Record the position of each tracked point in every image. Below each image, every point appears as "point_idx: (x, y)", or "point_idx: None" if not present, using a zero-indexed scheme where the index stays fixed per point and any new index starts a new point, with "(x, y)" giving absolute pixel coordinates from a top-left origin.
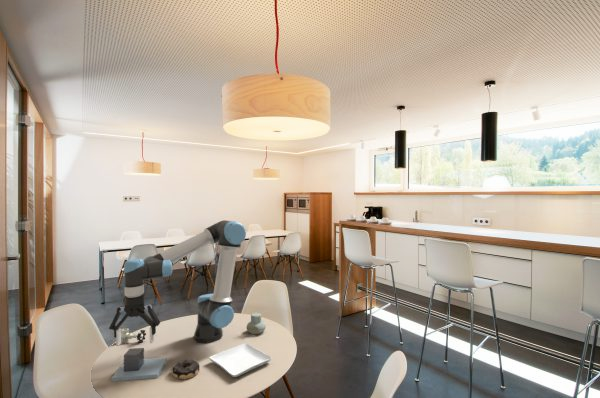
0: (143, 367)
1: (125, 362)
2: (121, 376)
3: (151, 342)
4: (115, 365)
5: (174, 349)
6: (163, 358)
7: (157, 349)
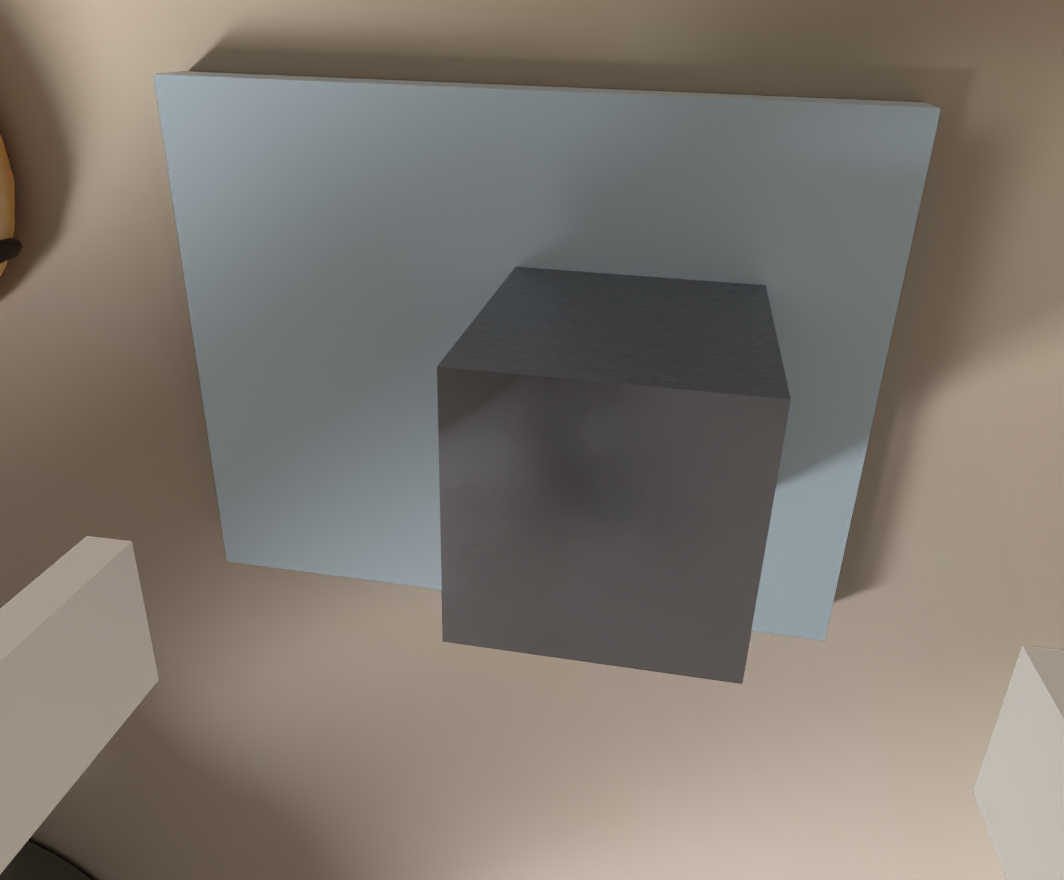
0: None
1: (744, 335)
2: (761, 114)
3: (76, 544)
4: (974, 602)
5: (276, 787)
6: (272, 554)
7: (491, 847)
